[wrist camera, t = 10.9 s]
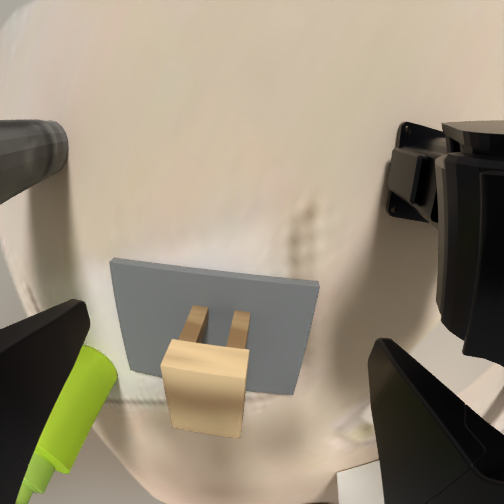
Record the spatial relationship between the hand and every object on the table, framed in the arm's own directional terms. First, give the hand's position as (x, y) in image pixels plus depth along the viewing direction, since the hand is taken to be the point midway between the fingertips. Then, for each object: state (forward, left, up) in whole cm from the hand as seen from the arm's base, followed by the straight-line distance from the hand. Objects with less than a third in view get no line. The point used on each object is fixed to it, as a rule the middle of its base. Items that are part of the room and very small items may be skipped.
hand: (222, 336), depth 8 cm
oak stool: (+2, +11, -12) cm, 16 cm away
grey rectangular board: (+3, +11, -13) cm, 17 cm away
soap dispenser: (+16, +19, -13) cm, 28 cm away
